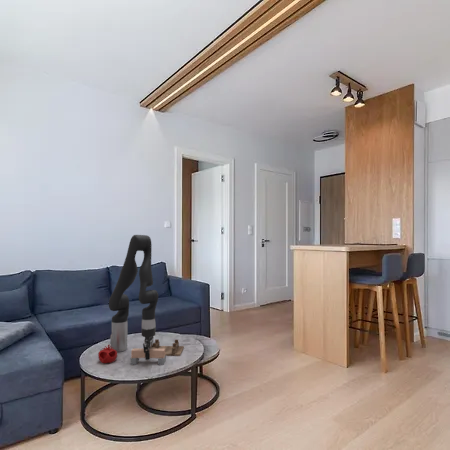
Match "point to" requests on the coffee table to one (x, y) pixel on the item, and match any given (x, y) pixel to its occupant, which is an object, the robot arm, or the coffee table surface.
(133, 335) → the coffee table surface
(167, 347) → the rack
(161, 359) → the blocks
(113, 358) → the pomegranate
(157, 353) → the light wooden bar
